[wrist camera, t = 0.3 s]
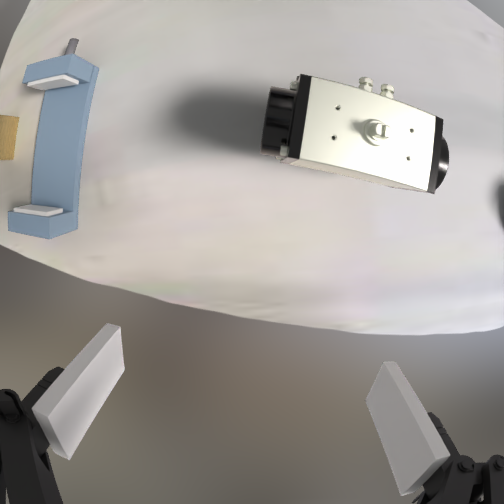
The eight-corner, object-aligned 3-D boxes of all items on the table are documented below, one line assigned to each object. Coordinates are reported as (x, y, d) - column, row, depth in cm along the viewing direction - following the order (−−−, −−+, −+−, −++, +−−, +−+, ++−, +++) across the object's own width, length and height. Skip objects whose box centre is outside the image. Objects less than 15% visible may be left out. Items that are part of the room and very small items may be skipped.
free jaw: (56, 47, 30) (36, 37, 24) (102, 37, 30) (83, 23, 24) (43, 92, 32) (21, 86, 26) (88, 86, 32) (66, 76, 27)
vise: (54, 75, 33) (28, 65, 26) (99, 68, 33) (74, 54, 26) (36, 222, 40) (8, 230, 33) (77, 228, 40) (49, 239, 33)
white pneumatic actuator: (394, 131, 35) (471, 112, 18) (386, 188, 37) (462, 202, 20) (269, 101, 35) (276, 46, 18) (259, 162, 37) (258, 150, 20)
